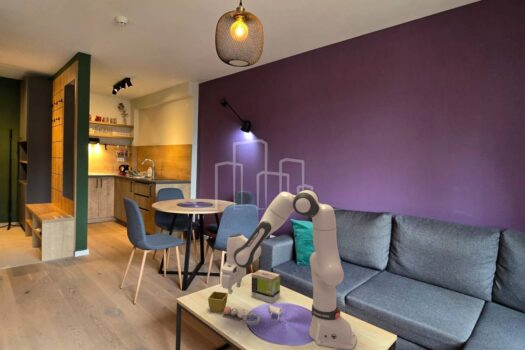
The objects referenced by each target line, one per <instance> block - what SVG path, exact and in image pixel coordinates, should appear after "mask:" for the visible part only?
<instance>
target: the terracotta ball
mask: <svg viewBox="0 0 525 350" xmlns="http://www.w3.org/2000/svg"><path fill="white" fill-rule="evenodd" d="M231 310H232V308H231V307H230V306H225V308H224V309H223V313H224V314H226V315H228V314H230V312H231Z"/></svg>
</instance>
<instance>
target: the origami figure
mask: <svg viewBox="0 0 525 350" xmlns="http://www.w3.org/2000/svg"><path fill="white" fill-rule="evenodd" d="M268 312H270V314H269V315H270V318H271V319H272V318H273V316H272V314H273V313H274V314H276V315H277V321H278V322H279V320H280V316H281V315H282V314H283V313H285V312H284V311H283V310H282V308H281V307H278V306H273V305H272V304H269V306H268Z"/></svg>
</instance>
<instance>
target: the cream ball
mask: <svg viewBox="0 0 525 350" xmlns="http://www.w3.org/2000/svg"><path fill="white" fill-rule="evenodd" d="M237 315H238V317H239V318H243V317H244V316H245V315H246V311H245V310H243V309H241V310H238V313H237Z"/></svg>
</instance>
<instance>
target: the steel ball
mask: <svg viewBox="0 0 525 350" xmlns="http://www.w3.org/2000/svg"><path fill="white" fill-rule="evenodd" d="M238 311H239V310H238V309H237V308H235V307H234V308H231V312H230V313H231V315H232V316H237V313H238Z"/></svg>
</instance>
